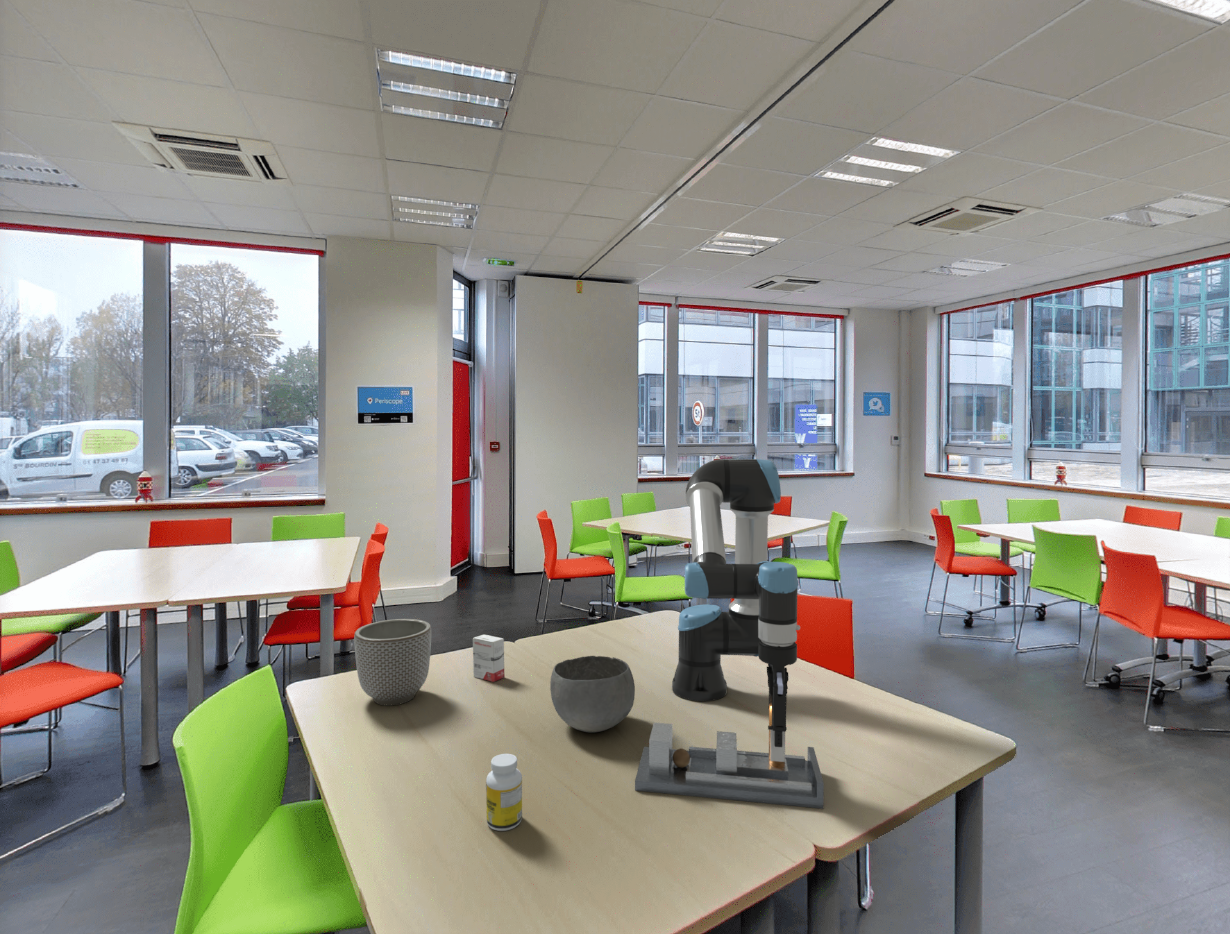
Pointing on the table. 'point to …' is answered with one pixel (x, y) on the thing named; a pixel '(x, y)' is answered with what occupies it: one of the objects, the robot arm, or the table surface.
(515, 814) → the pill bottle
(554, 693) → the bowl
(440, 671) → the table surface
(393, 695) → the planter
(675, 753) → the walnut
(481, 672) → the ink box
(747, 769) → the ram handle
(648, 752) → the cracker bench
